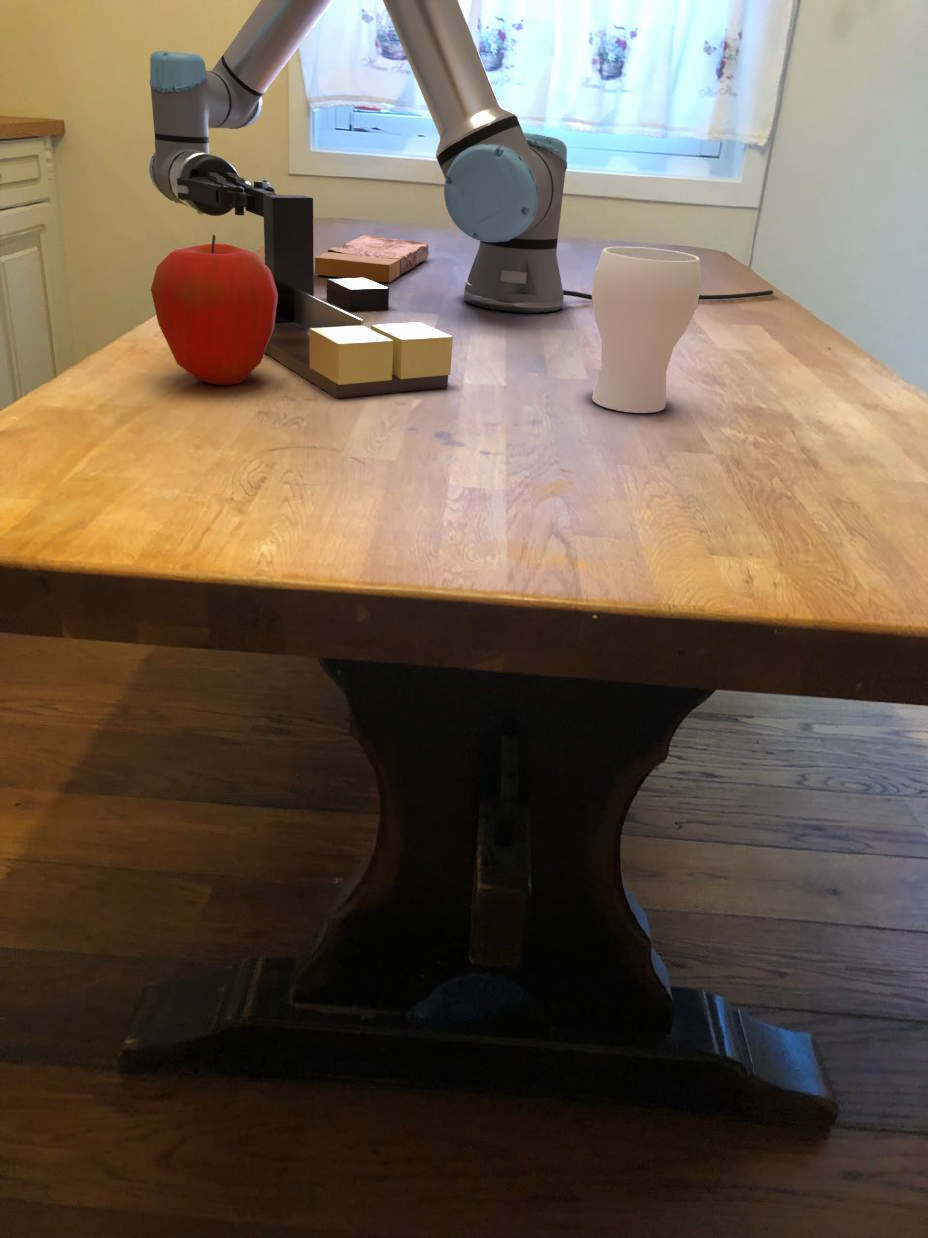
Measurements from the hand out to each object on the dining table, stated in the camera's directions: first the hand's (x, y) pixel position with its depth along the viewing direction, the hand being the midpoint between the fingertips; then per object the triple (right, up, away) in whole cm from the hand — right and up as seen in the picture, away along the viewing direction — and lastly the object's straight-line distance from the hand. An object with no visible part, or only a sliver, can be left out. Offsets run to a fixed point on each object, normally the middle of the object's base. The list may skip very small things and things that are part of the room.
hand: (270, 205), depth 115 cm
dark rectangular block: (+8, -5, +22) cm, 24 cm away
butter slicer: (+7, -17, -5) cm, 19 cm away
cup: (+41, -27, -14) cm, 51 cm away
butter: (+15, -24, -15) cm, 32 cm away
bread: (+8, +12, +53) cm, 54 cm away
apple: (-2, -26, -17) cm, 31 cm away
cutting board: (+7, -19, -4) cm, 21 cm away
